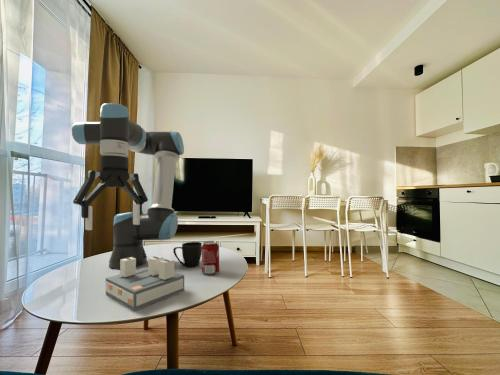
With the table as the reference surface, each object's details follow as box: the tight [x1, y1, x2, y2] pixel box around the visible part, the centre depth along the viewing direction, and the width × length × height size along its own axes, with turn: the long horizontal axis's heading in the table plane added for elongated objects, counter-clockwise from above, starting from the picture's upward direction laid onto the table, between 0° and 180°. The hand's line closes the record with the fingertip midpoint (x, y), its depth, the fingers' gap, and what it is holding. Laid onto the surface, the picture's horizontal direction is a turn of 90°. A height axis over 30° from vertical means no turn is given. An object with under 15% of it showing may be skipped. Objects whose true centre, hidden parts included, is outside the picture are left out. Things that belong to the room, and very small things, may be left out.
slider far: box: [119, 257, 137, 277], centre depth 76 cm, size 3×4×5 cm
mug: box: [172, 241, 203, 269], centre depth 102 cm, size 8×12×10 cm
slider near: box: [159, 258, 175, 280], centre depth 74 cm, size 3×4×5 cm
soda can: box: [201, 240, 220, 276], centre depth 94 cm, size 7×7×12 cm
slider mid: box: [147, 255, 164, 276], centre depth 77 cm, size 3×4×5 cm
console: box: [105, 266, 185, 311], centre depth 75 cm, size 18×16×5 cm
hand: (114, 227), depth 72 cm, fingers open, 13 cm apart
